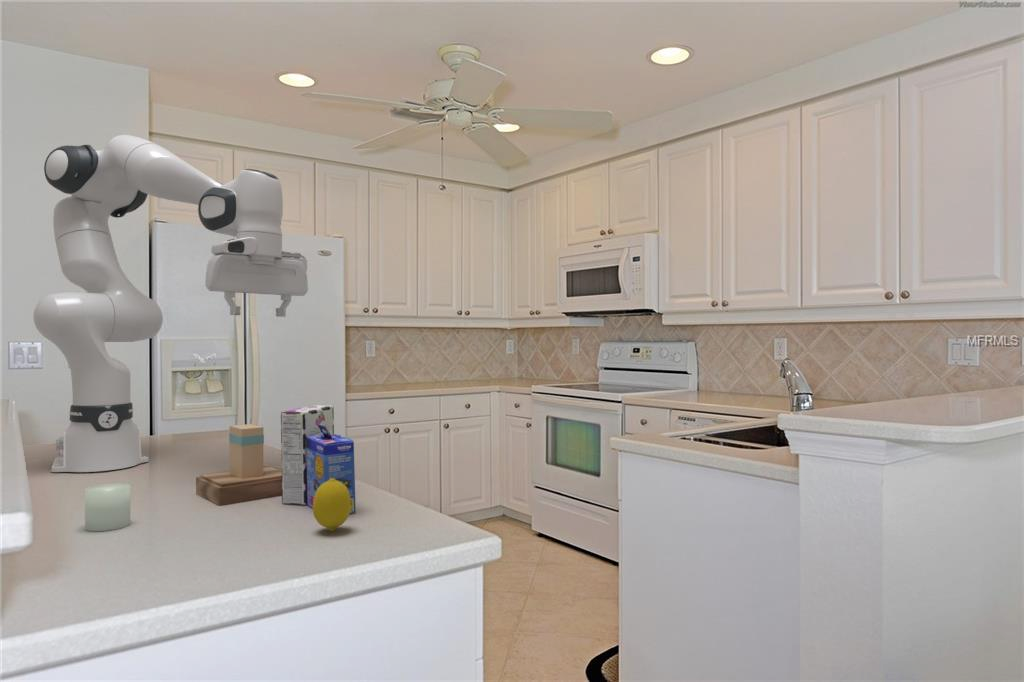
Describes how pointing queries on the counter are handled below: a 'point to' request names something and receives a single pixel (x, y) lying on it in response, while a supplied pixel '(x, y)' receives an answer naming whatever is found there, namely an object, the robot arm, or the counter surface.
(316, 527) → the counter surface
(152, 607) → the counter surface
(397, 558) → the counter surface
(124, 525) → the pale green candle
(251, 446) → the carton
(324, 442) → the ink cartridge box
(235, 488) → the podium
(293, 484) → the candy bar box
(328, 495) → the lemon
